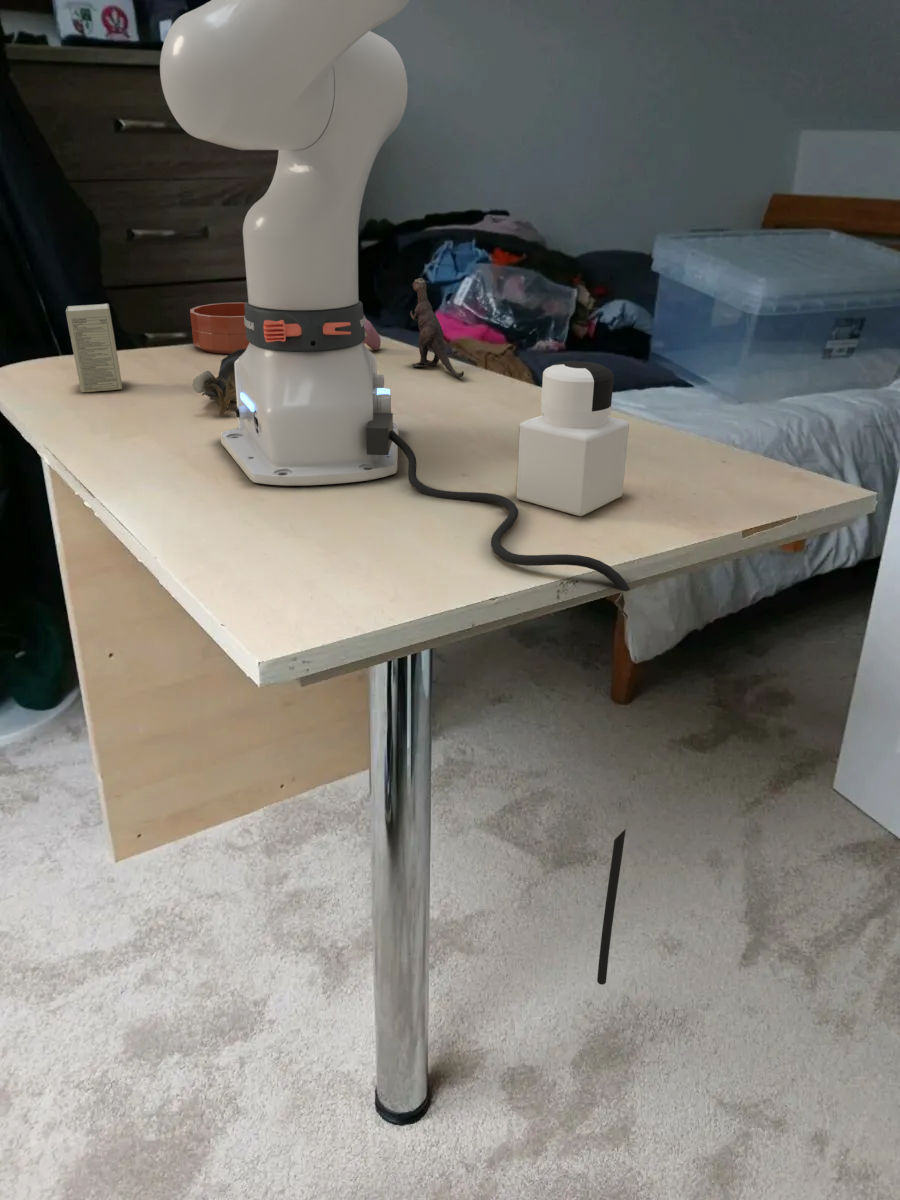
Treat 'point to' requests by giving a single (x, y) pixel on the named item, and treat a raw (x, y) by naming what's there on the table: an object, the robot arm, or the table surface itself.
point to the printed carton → (94, 347)
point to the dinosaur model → (430, 331)
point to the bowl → (219, 327)
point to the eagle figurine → (220, 382)
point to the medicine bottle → (573, 442)
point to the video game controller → (371, 336)
